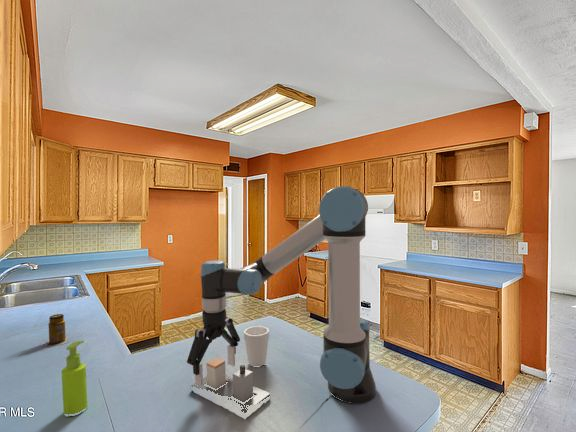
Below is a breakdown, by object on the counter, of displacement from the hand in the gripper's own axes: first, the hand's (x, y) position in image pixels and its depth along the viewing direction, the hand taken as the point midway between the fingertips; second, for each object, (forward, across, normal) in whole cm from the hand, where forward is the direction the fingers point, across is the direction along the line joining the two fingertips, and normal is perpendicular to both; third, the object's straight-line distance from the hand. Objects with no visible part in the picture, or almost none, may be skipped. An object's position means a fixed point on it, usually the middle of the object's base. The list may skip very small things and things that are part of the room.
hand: (216, 373), depth 102 cm
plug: (+5, 0, 0) cm, 5 cm away
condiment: (+6, +15, -90) cm, 91 cm away
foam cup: (+6, -20, 0) cm, 21 cm away
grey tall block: (+5, 0, +12) cm, 13 cm away
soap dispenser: (+6, +30, -28) cm, 41 cm away
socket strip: (+6, 0, +6) cm, 8 cm away
